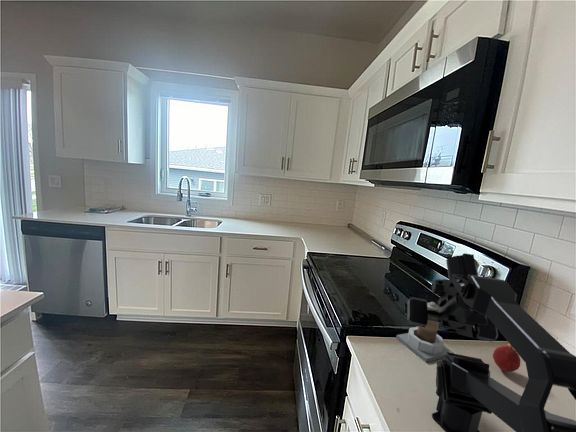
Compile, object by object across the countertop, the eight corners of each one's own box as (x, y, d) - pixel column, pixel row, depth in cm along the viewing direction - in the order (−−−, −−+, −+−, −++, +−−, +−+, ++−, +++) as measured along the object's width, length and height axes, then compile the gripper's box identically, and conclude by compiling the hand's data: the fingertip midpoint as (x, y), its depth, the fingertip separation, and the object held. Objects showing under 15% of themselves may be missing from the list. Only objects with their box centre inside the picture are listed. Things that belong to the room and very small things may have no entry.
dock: (453, 355, 79) (455, 344, 79) (425, 362, 75) (428, 350, 75) (421, 333, 89) (424, 323, 89) (396, 337, 85) (398, 327, 84)
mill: (436, 350, 79) (446, 307, 77) (418, 347, 80) (427, 304, 78) (430, 340, 84) (439, 299, 82) (413, 337, 85) (421, 297, 82)
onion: (522, 380, 72) (530, 352, 71) (500, 377, 72) (507, 350, 71) (505, 364, 78) (512, 339, 77) (485, 362, 78) (491, 336, 77)
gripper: (504, 282, 62) (473, 305, 75) (416, 267, 67) (401, 291, 79) (514, 333, 56) (479, 348, 69) (416, 312, 60) (400, 330, 73)
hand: (438, 327), depth 73 cm, fingers open, 9 cm apart
